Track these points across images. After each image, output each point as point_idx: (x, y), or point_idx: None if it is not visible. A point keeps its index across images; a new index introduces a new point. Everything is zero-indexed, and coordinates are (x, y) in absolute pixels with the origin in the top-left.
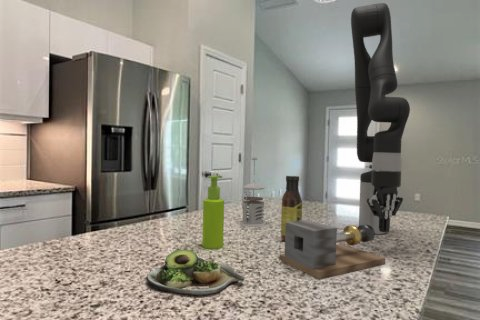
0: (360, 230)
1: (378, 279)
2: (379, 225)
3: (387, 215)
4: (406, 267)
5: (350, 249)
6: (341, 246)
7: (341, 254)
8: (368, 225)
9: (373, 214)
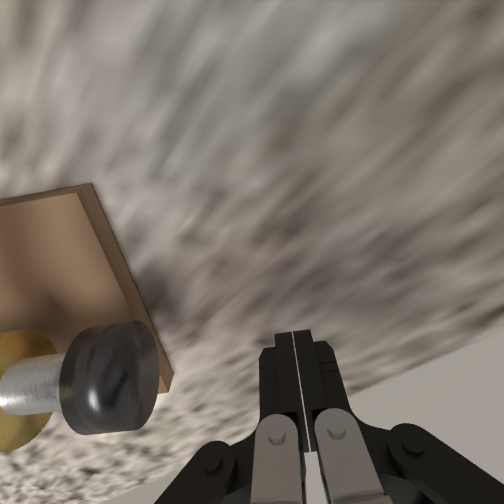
0: (54, 410)
1: (75, 437)
2: (259, 376)
3: (302, 489)
4: (222, 405)
5: (79, 287)
6: (52, 233)
7: (5, 329)
8: (112, 428)
9: (193, 457)
